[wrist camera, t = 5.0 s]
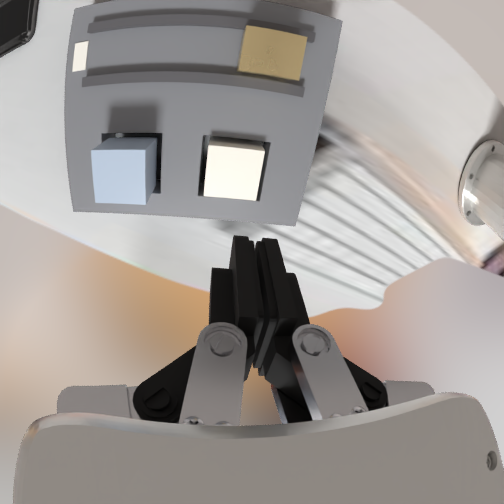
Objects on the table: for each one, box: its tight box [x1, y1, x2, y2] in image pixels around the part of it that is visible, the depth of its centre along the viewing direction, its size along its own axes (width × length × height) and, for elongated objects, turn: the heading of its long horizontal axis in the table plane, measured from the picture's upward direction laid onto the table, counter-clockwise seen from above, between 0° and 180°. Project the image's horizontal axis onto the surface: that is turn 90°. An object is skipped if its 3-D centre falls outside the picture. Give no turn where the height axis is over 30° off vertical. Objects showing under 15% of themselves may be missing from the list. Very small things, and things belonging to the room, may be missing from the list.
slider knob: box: [236, 25, 307, 81], centre depth 14 cm, size 4×3×3 cm
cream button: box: [204, 136, 265, 201], centre depth 21 cm, size 4×4×4 cm
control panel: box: [64, 0, 342, 226], centre depth 18 cm, size 20×18×4 cm
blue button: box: [91, 137, 157, 205], centre depth 18 cm, size 4×4×4 cm
